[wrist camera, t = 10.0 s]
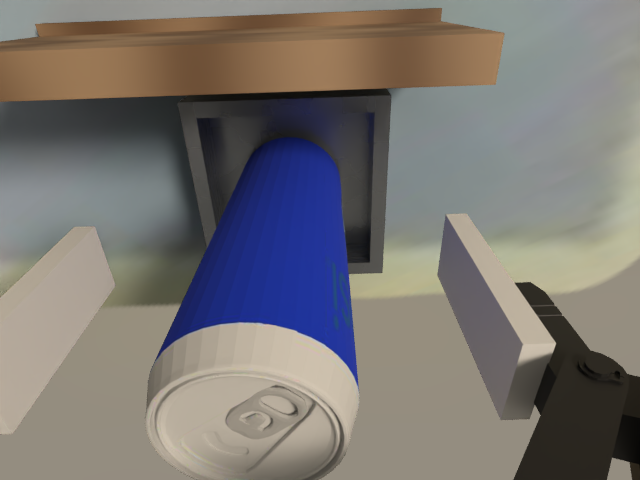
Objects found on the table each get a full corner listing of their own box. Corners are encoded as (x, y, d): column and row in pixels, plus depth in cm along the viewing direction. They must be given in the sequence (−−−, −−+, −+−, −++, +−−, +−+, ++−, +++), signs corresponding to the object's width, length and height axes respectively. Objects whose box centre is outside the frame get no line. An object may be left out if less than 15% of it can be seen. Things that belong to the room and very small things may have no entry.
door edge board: (61, 79, 20) (-76, 120, 13) (43, 23, 19) (-120, 37, 12) (432, 65, 20) (492, 101, 13) (438, 7, 18) (507, 13, 12)
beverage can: (297, 238, 24) (267, 520, 11) (225, 183, 22) (90, 442, 9) (360, 177, 22) (410, 434, 9) (285, 111, 20) (219, 314, 7)
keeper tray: (222, 253, 25) (212, 277, 23) (192, 91, 20) (177, 102, 18) (377, 249, 25) (382, 273, 23) (384, 85, 20) (391, 95, 18)
